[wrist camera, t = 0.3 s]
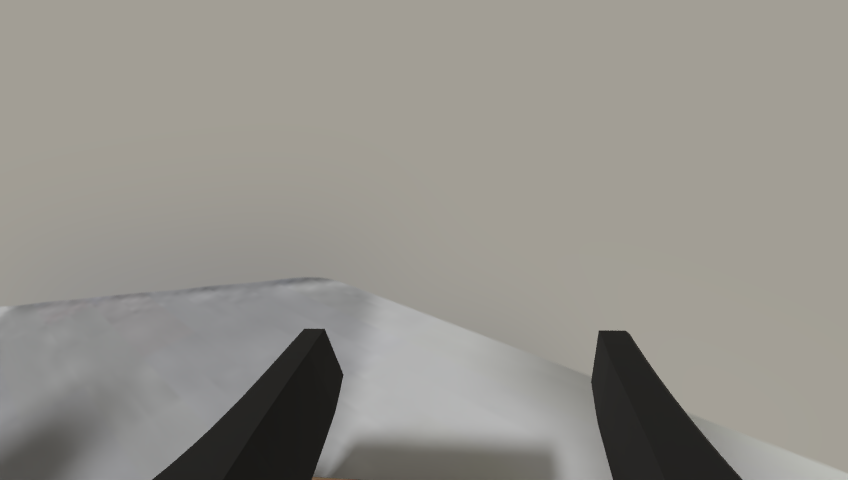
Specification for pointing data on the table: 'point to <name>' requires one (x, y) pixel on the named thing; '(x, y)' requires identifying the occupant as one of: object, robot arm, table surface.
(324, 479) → the slot block
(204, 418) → the table surface
